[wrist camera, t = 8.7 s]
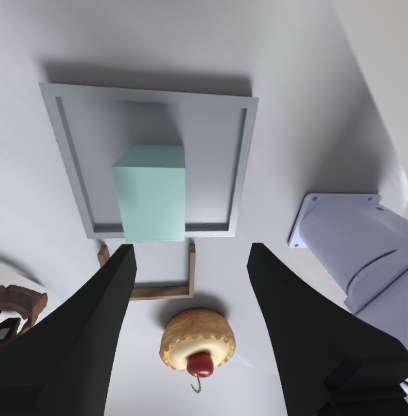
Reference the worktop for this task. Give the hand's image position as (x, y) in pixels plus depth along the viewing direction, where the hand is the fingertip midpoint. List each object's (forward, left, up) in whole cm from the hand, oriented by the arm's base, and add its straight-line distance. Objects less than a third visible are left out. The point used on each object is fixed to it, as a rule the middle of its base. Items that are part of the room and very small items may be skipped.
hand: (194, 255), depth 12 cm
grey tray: (+3, -2, -10) cm, 11 cm away
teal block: (+3, -1, -9) cm, 10 cm away
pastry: (-2, +26, -10) cm, 28 cm away
